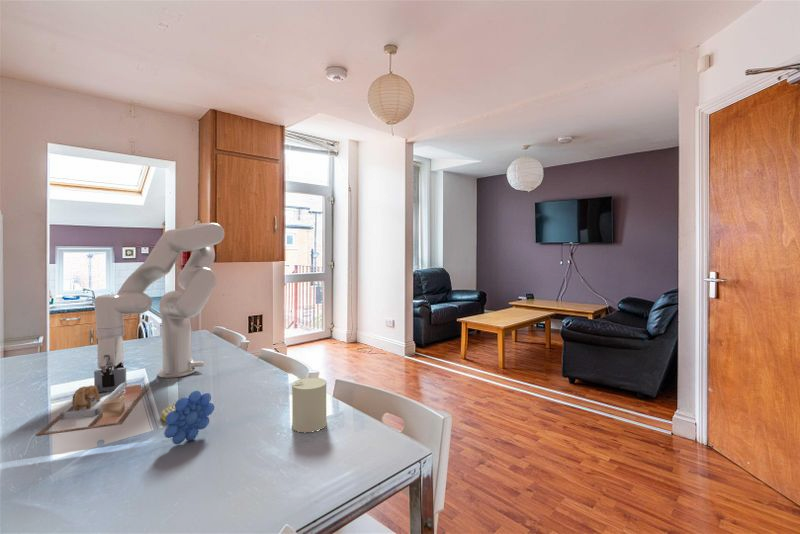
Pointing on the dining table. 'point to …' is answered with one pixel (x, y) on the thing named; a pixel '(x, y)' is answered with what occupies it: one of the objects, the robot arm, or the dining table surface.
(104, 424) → the lane rails
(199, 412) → the grapes
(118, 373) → the grey long open box
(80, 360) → the dining table surface
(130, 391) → the broken strip
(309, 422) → the can
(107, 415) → the cube
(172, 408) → the decorated donut
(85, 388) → the lion figurine
